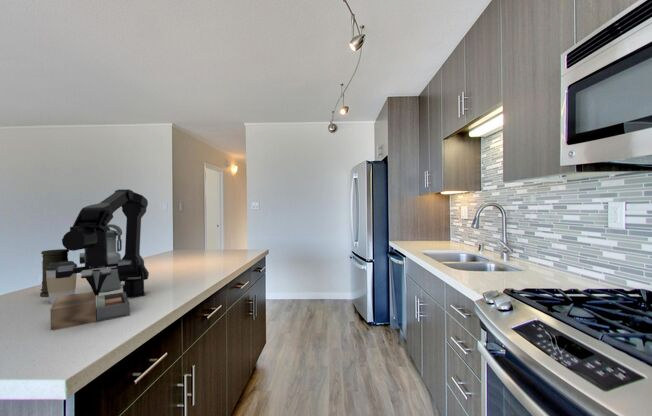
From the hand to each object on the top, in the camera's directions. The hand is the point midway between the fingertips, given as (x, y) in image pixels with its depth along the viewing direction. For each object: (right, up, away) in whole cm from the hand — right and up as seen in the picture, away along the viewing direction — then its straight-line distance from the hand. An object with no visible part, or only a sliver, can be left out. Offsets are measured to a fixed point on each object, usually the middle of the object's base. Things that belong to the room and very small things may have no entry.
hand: (96, 295), depth 92 cm
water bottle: (-22, -8, +33) cm, 40 cm away
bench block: (-6, -7, -1) cm, 9 cm away
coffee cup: (-27, -8, +17) cm, 33 cm away
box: (+1, -7, +5) cm, 9 cm away
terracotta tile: (-1, -4, +8) cm, 9 cm away
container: (-39, -8, +27) cm, 48 cm away
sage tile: (0, -4, +1) cm, 4 cm away
